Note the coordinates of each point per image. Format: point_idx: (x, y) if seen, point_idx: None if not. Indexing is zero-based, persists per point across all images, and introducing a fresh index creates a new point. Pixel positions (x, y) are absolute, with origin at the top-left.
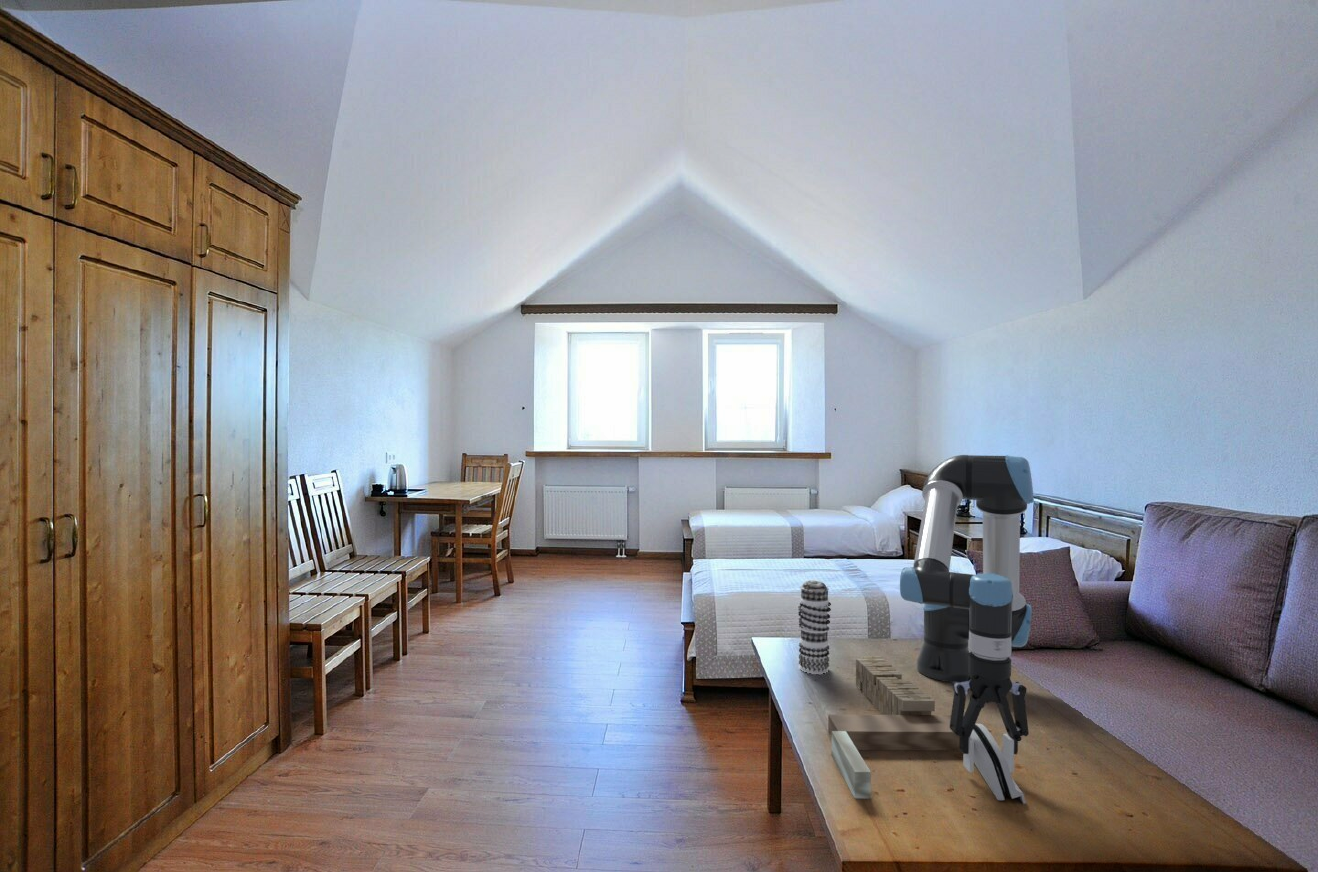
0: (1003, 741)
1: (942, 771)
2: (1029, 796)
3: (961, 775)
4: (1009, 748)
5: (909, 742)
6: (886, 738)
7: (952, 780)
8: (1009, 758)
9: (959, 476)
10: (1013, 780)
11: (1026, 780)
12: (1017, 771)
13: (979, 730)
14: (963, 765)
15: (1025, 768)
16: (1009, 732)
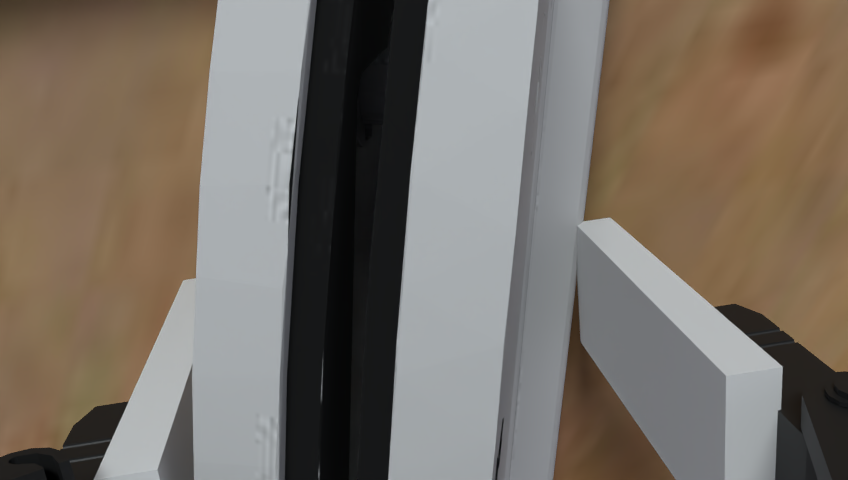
0: (678, 348)
1: (7, 233)
2: (608, 476)
3: (175, 274)
4: (671, 465)
5: None
6: None
7: (73, 367)
8: (627, 402)
9: None
10: (549, 470)
11: (708, 264)
12: (712, 126)
13: (371, 425)
14: (184, 284)
15: (813, 60)
16: (812, 476)
